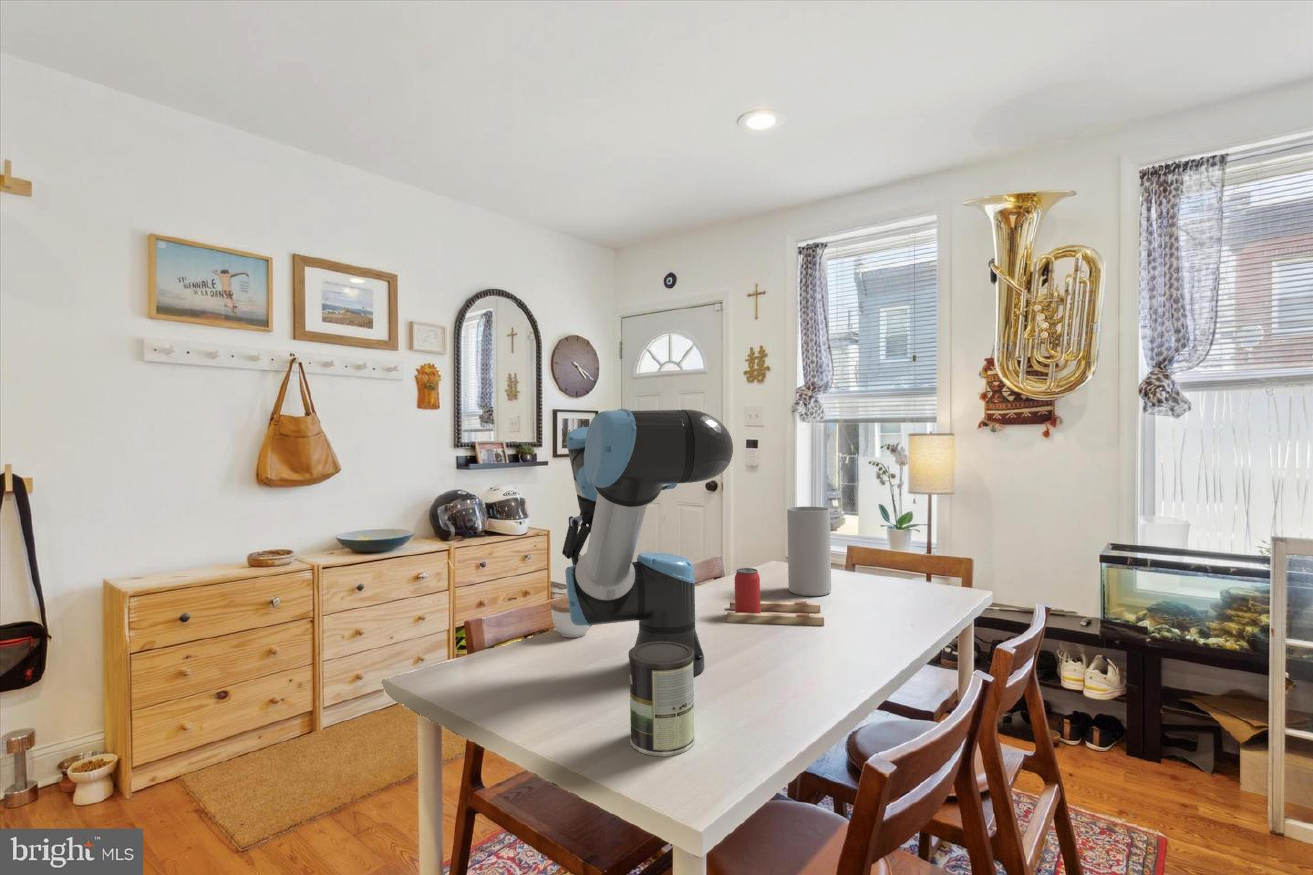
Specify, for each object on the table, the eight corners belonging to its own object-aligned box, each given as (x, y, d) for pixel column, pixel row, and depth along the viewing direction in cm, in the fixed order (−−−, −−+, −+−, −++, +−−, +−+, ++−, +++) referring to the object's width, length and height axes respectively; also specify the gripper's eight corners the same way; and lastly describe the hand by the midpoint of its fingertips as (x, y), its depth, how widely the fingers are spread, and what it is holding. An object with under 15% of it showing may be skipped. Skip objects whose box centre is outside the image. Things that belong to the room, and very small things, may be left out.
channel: (727, 622, 163) (726, 612, 163) (730, 607, 176) (730, 599, 176) (824, 625, 158) (823, 615, 158) (819, 610, 172) (819, 601, 172)
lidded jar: (574, 643, 148) (573, 603, 148) (542, 635, 154) (541, 596, 154) (604, 631, 157) (604, 593, 156) (573, 624, 163) (572, 587, 163)
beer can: (765, 615, 169) (764, 569, 169) (751, 620, 164) (750, 573, 164) (744, 610, 173) (744, 566, 173) (730, 615, 168) (729, 570, 168)
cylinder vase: (815, 599, 184) (813, 512, 184) (780, 591, 193) (778, 509, 193) (839, 591, 192) (838, 508, 192) (804, 584, 201) (803, 505, 201)
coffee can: (620, 752, 97) (619, 659, 97) (641, 722, 107) (640, 638, 107) (686, 761, 94) (685, 665, 94) (701, 729, 104) (700, 643, 104)
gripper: (628, 465, 158) (638, 535, 167) (537, 505, 146) (554, 578, 155) (645, 476, 152) (655, 548, 162) (552, 518, 140) (569, 593, 150)
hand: (605, 563), depth 159 cm, fingers open, 13 cm apart
